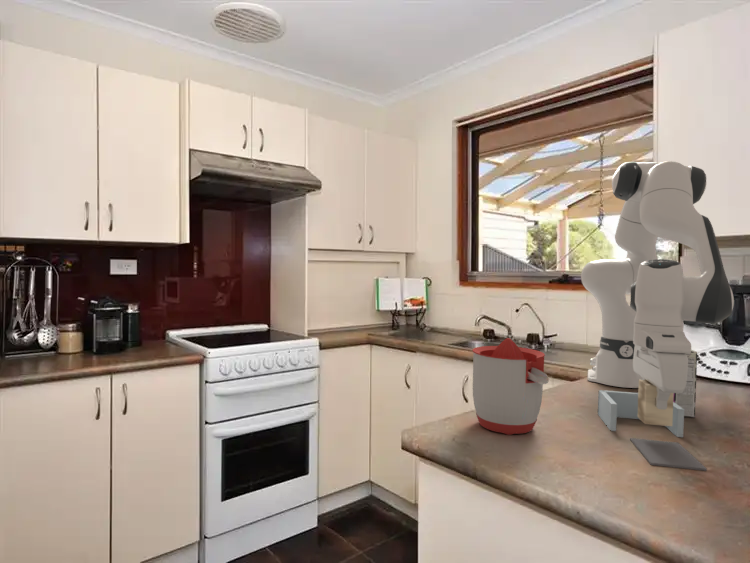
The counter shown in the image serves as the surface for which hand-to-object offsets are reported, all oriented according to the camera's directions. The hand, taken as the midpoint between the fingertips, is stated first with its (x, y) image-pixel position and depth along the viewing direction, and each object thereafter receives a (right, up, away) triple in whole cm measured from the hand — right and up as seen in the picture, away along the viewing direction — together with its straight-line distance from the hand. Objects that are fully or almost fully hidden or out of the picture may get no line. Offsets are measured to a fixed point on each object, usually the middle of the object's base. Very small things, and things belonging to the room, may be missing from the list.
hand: (655, 404), depth 98 cm
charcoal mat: (-2, -8, -6) cm, 10 cm away
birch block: (0, -4, 0) cm, 4 cm away
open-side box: (+2, -8, +11) cm, 13 cm away
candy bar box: (+19, -8, +23) cm, 30 cm away
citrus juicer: (-28, -7, +7) cm, 30 cm away
